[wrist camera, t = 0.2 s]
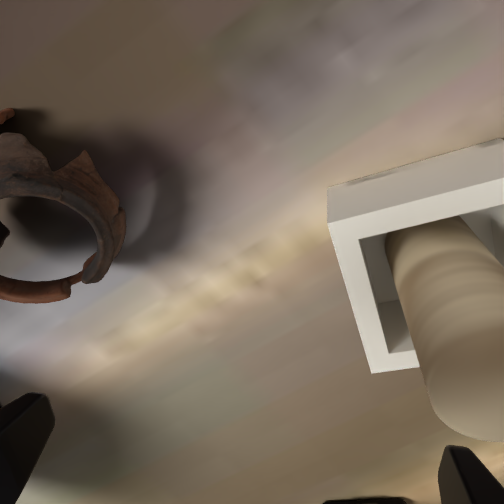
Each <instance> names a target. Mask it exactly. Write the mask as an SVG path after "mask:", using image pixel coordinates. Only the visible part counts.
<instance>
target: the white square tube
mask: <svg viewBox="0 0 504 504" xmlns="http://www.w3.org/2000/svg"><path fill="white" fill-rule="evenodd" d="M457 215H459V216H460V217H461V218H462V219H463V220H464V221H465V223H466V224H467V225H468V226H469V227H470V229H471V230H472V231H473V232H474V233H475V234H476V236H477V237H478V238H479V239H480V240H481V241H482V243H483V244H484V245H485V246H486V247H487V249H488V250H489V251H490V252H491V253H492V254H493V256H494V257H495V258H496V259H497V260H498V261H499V263H500V264H501V265H502V266H503V267H504V140H503V139H500V138H498V139H495V140H491V141H488V142H484V143H481V144H477V145H474V146H470V147H467V148H463V149H460V150H456V151H453V152H449V153H446V154H442V155H439V156H435V157H432V158H428V159H425V160H422V161H418V162H415V163H411V164H408V165H404V166H401V167H397V168H394V169H390V170H387V171H383V172H380V173H376V174H373V175H369V176H366V177H362V178H359V179H355V180H352V181H348V182H345V183H342V184H338V185H335V186H331V187H328V188H327V224H328V228H329V231H330V234H331V238H332V241H333V245H334V248H335V251H336V255H337V258H338V261H339V265H340V268H341V272H342V275H343V278H344V282H345V285H346V289H347V292H348V295H349V299H350V302H351V305H352V309H353V312H354V316H355V319H356V322H357V326H358V329H359V332H360V336H361V339H362V343H363V346H364V349H365V353H366V356H367V360H368V363H369V366H370V370H371V373H379V372H386V371H393V370H400V369H407V368H414V367H420V365H419V362H418V359H417V355H416V352H415V349H414V346H413V342H412V339H411V336H410V332H409V329H408V326H407V322H406V319H405V316H404V313H403V309H402V306H401V303H400V299H399V296H398V293H397V289H396V286H395V283H394V280H393V276H392V273H391V270H390V266H389V263H388V260H387V257H386V253H385V238H386V235H387V232H391V231H395V230H399V229H403V228H407V227H411V226H415V225H420V224H424V223H428V222H432V221H436V220H440V219H444V218H448V217H453V216H457Z"/></svg>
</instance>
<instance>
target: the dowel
mask: <svg viewBox="0 0 504 504" xmlns="http://www.w3.org/2000/svg"><path fill="white" fill-rule="evenodd" d="M385 253H386V257H387V260H388V263H389V266H390V270H391V273H392V276H393V280H394V283H395V286H396V289H397V293H398V296H399V299H400V303H401V306H402V309H403V313H404V316H405V319H406V322H407V326H408V329H409V332H410V336H411V339H412V342H413V346H414V349H415V352H416V355H417V359H418V362H419V365H420V369H421V372H422V375H423V378H424V382H425V385H426V388H427V392H428V395H429V398H430V402H431V405H432V408H433V409H434V411H435V413H436V414H437V416H438V417H439V418H440V420H442V421H443V422H444V423H445V424H446V425H447V426H449V427H450V428H451V429H453V430H455V431H456V432H458V433H460V434H463V435H465V436H468V437H471V438H474V439H479V440H483V441H491V442H504V267H503V266H502V265H501V264H500V263H499V261H498V260H497V259H496V258H495V257H494V256H493V254H492V253H491V252H490V251H489V250H488V249H487V247H486V246H485V245H484V244H483V243H482V241H481V240H480V239H479V238H478V237H477V236H476V234H475V233H474V232H473V231H472V230H471V229H470V227H469V226H468V225H467V224H466V223H465V221H464V220H463V219H462V218H461V217H460V216H459V215H457V216H453V217H448V218H444V219H440V220H436V221H432V222H428V223H424V224H420V225H415V226H411V227H407V228H403V229H399V230H395V231H391V232H387V235H386V238H385Z"/></svg>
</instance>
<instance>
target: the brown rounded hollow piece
mask: <svg viewBox="0 0 504 504" xmlns="http://www.w3.org/2000/svg"><path fill="white" fill-rule="evenodd" d="M14 114H15V113H14V111H13V109H11V108H7V109H4V110H1V111H0V124H3V123H4V122H5V120H7V119H9V118H11V117H13V116H14ZM16 196H34V197H43V198H47V199H51V200H56V201H59V202H60V203H62V204H65V205H67V206H69V207H70V208H71V209H73V210H75V211H76V212H78V213H79V214H81V215H82V216H83V217H84V218H85V219H86V220H87V221H88V222H89V223H90V224H91V226H92V227H93V229H94V231H95V234H96V236H97V243H98V249H97V252H96V253H95V254H93V255H92V256H91V257H90V258H88V259H87V261H86V262H85V263H84V265H83V270H82V271H81V272H79V273H78V274H75V275H73V276H70V277H66V278H63V279H59V280H52V281H40V282H32V281H22V280H17V279H11V278H7V277H4V276H2V275H0V299H3V300H8V301H12V302H19V303H35V304H37V303H50V302H55V301H60V300H64V299H67V298H69V297H70V295H71V285H73V284H76V283H78V282H80V281H82V282H83V283H85V284H89V283H96V282H99V281H100V280H102V278H103V277H104V275H105V274H106V273H107V271H108V270H109V267H110V265H111V263H112V261H113V259H114V258H115V257H116V256H117V254H118V253H119V251H120V249H121V247H122V244H123V241H124V238H125V233H126V215H125V211H124V209H123V208H121V207H119V198H118V197H117V195H116V194H115V193H114V191H113V190H112V189H111V188H109V187H108V185H107V184H106V183H105V182H104V181H103V180H102V178H101V177H100V175H99V174H98V172H97V170H96V169H95V167H94V164H93V161H92V159H91V158H90V156H89V154H88V153H87V151H86V150H83V151H82V152H81V154H80V155H79V156H78V157H77V158H75V159H74V160H72V161H70V162H69V163H68V164H67V165H65V166H64V167H62V168H60V169H58V170H57V171H52V170H51V168H50V166H49V162H48V159H47V158H46V157H45V156H44V155H43V154H42V152H41V151H39V150H38V149H37V148H35V147H34V146H32V145H31V144H30V143H29V141H28V140H27V138H26V137H25V136H24V135H22V134H19V133H9V132H7V133H2V134H1V135H0V199H3V198H7V197H16ZM9 234H10V231H9V230H8V228H7V227H6V226H5V225H3V224H2V223H1V221H0V248H1V247H2V245H3V243H4V240H5V239H6V237H8V236H9Z"/></svg>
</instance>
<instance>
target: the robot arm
mask: <svg viewBox="0 0 504 504" xmlns="http://www.w3.org/2000/svg"><path fill="white" fill-rule="evenodd" d="M54 425H55V416H54V413H53V410H52V407H51V404H50V401H49V398H48V396H47V395H46V394H43V393H35V392H30V393H27V394H25V395H23V396H21V397H20V398H18V399H16V400H14V401H13V402H11V403H9V404H7V405H6V406H4V407H2V408H1V409H0V504H15V503H16V501H17V499H18V498H19V496H20V494H21V492H22V491H23V489H24V487H25V485H26V483H27V481H28V479H29V477H30V475H31V473H32V471H33V469H34V467H35V465H36V463H37V461H38V459H39V457H40V455H41V453H42V451H43V449H44V446H45V444H46V442H47V440H48V438H49V436H50V434H51V432H52V430H53V428H54ZM438 484H439V490H440V496H441V503H442V504H504V488H503V486H502V485H501V484H500V483H499V482H498V481H497V479H496V478H495V477H494V476H493V475H492V474H491V473H490V471H489V470H488V469H487V468H486V467H485V466H484V464H483V463H482V462H481V461H480V460H479V459H478V458H477V456H476V455H475V454H474V453H473V452H472V451H471V450H470V449H469V448H467V447H462V446H455V445H447V446H446V447H445V449H444V452H443V456H442V460H441V463H440V467H439V471H438ZM323 504H406V502H405V501H404V500H402V499H385V500H364V501H343V502H325V503H323Z"/></svg>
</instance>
